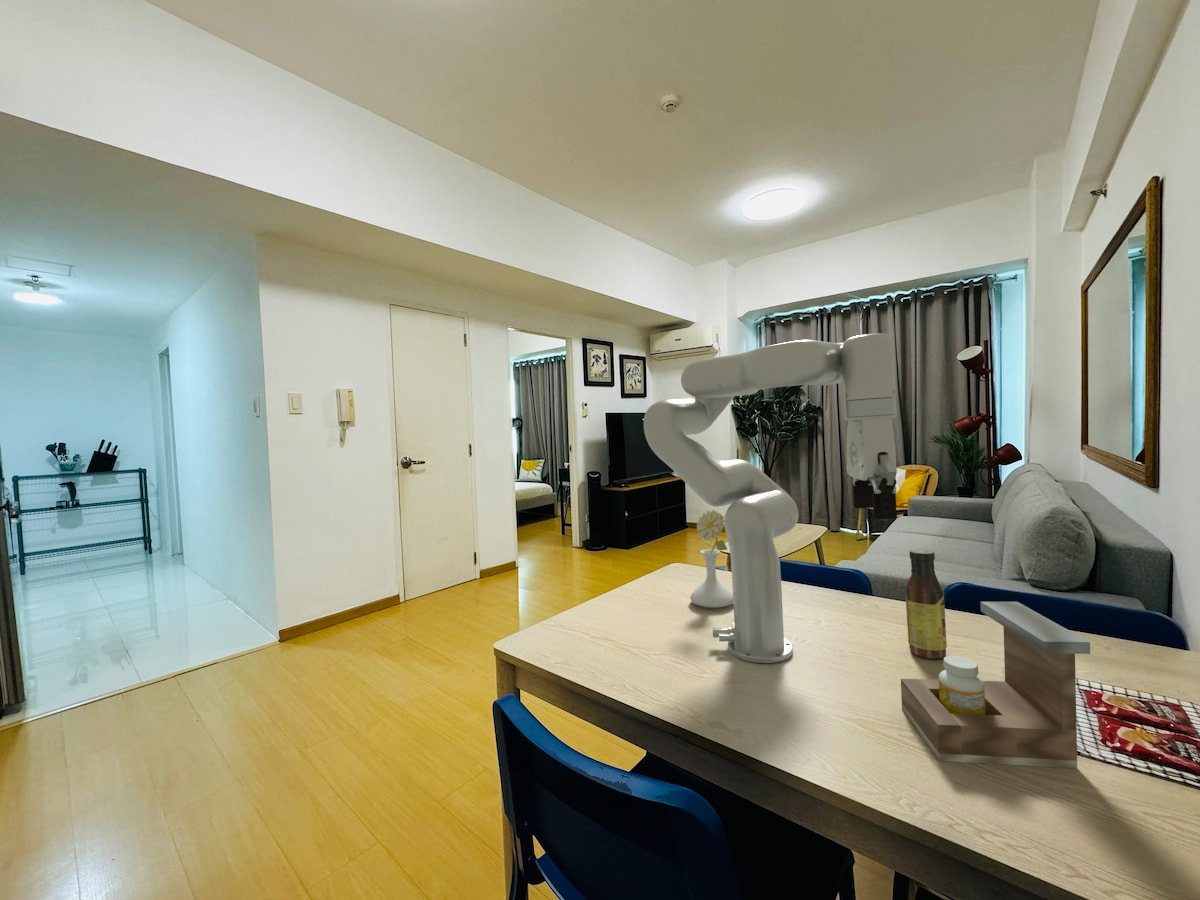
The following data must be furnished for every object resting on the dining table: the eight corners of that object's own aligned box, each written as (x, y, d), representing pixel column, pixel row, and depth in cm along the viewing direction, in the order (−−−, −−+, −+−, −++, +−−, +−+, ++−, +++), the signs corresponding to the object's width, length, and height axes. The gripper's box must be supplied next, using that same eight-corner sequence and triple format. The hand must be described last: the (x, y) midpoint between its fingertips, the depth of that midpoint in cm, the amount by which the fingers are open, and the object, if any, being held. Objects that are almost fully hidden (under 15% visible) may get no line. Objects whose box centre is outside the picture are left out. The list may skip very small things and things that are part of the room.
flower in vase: (683, 600, 132) (677, 507, 131) (720, 593, 135) (715, 503, 134) (707, 617, 119) (702, 515, 118) (748, 609, 123) (743, 509, 122)
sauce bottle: (953, 661, 92) (950, 555, 91) (916, 660, 93) (912, 556, 92) (937, 645, 98) (933, 546, 97) (902, 644, 99) (898, 547, 98)
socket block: (942, 765, 65) (938, 640, 65) (899, 705, 79) (895, 601, 78) (1092, 774, 62) (1090, 642, 61) (1020, 710, 76) (1017, 601, 75)
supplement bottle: (984, 743, 68) (982, 674, 67) (937, 729, 71) (935, 664, 71) (987, 723, 72) (985, 659, 71) (942, 711, 75) (940, 650, 75)
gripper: (831, 413, 91) (835, 505, 92) (862, 411, 74) (867, 524, 75) (875, 410, 90) (879, 503, 91) (917, 407, 73) (922, 522, 74)
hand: (873, 512), depth 83 cm, fingers open, 9 cm apart
